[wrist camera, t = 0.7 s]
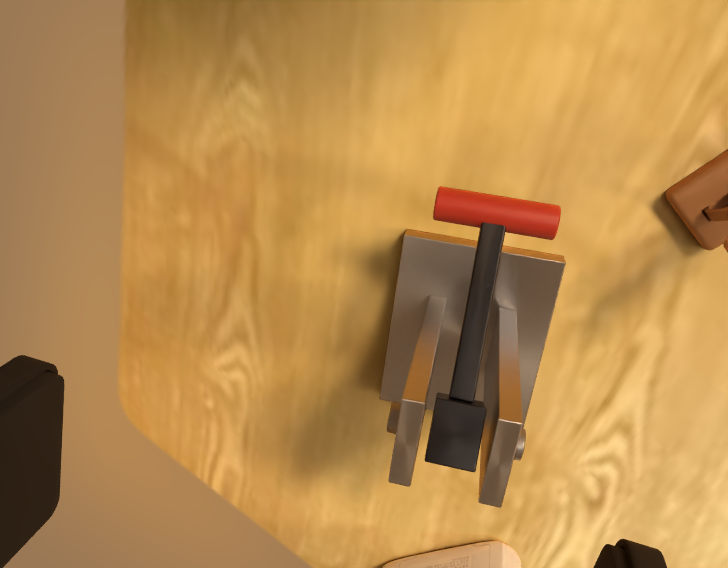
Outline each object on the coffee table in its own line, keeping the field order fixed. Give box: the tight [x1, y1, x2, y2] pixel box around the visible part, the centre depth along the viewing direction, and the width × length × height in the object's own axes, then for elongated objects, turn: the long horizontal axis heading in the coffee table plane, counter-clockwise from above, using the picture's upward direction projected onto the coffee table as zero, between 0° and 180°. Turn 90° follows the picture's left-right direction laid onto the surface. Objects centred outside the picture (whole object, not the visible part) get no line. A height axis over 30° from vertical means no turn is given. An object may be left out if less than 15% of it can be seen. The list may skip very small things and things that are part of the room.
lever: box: [425, 186, 561, 472], centre depth 29 cm, size 12×6×2 cm, turn 173°
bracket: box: [380, 229, 566, 508], centre depth 33 cm, size 11×9×13 cm
